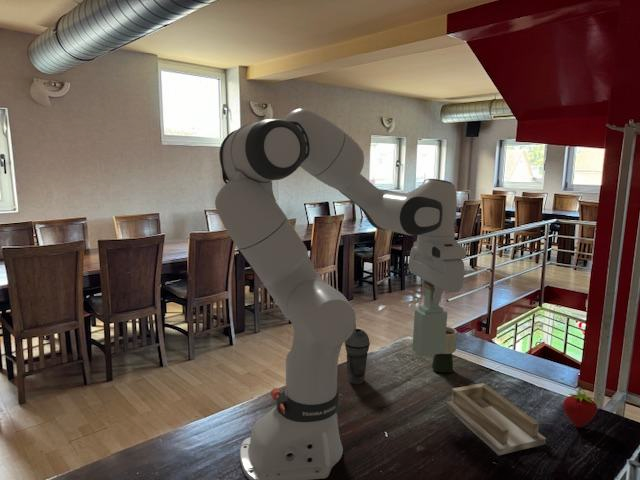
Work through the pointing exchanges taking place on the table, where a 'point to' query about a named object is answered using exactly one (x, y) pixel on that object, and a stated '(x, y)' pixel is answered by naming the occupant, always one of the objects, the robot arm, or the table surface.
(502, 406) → the u rest
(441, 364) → the character mug
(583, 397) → the strawberry
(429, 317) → the pale green flat bottle
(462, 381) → the table surface
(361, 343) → the beverage cup
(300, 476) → the robot arm
